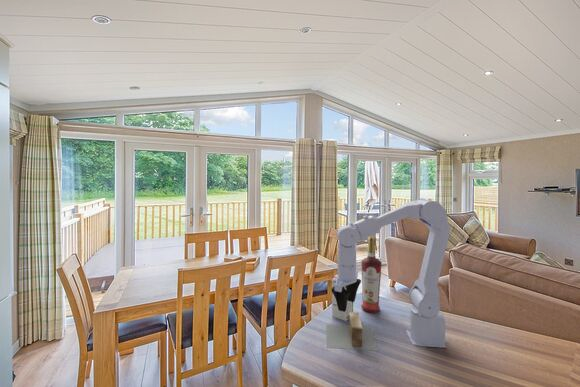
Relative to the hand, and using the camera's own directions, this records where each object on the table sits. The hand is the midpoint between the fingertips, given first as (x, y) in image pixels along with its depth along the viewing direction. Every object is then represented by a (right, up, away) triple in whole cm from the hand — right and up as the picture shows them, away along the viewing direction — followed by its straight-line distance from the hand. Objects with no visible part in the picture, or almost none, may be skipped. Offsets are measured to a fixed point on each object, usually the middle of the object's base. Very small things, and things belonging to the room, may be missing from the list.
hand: (346, 305), depth 91 cm
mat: (+1, -10, 0) cm, 10 cm away
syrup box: (+1, -9, +13) cm, 16 cm away
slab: (+2, -10, -1) cm, 10 cm away
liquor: (+13, -9, +18) cm, 24 cm away
